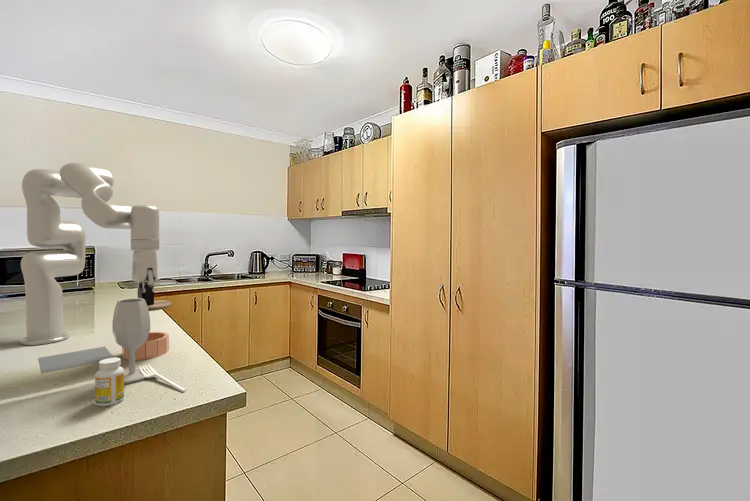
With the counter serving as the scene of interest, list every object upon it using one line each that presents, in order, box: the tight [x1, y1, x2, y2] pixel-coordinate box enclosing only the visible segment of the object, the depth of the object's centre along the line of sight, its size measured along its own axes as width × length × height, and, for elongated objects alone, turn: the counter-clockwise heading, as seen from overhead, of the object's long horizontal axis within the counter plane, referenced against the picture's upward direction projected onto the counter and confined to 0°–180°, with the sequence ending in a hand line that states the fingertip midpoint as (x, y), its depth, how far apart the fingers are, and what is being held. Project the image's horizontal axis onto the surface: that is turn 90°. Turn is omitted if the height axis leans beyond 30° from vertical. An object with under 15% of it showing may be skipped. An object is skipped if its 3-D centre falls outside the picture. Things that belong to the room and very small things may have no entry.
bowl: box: [121, 331, 170, 361], centre depth 112 cm, size 12×12×6 cm
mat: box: [38, 346, 115, 374], centre depth 106 cm, size 16×16×1 cm
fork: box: [138, 363, 186, 393], centre depth 92 cm, size 3×20×2 cm, turn 58°
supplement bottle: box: [94, 357, 125, 407], centre depth 81 cm, size 5×5×10 cm
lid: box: [137, 287, 173, 312], centre depth 111 cm, size 14×14×6 cm
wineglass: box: [111, 297, 151, 385], centre depth 94 cm, size 9×9×21 cm
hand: (145, 303), depth 111 cm, fingers closed on lid, 4 cm apart
